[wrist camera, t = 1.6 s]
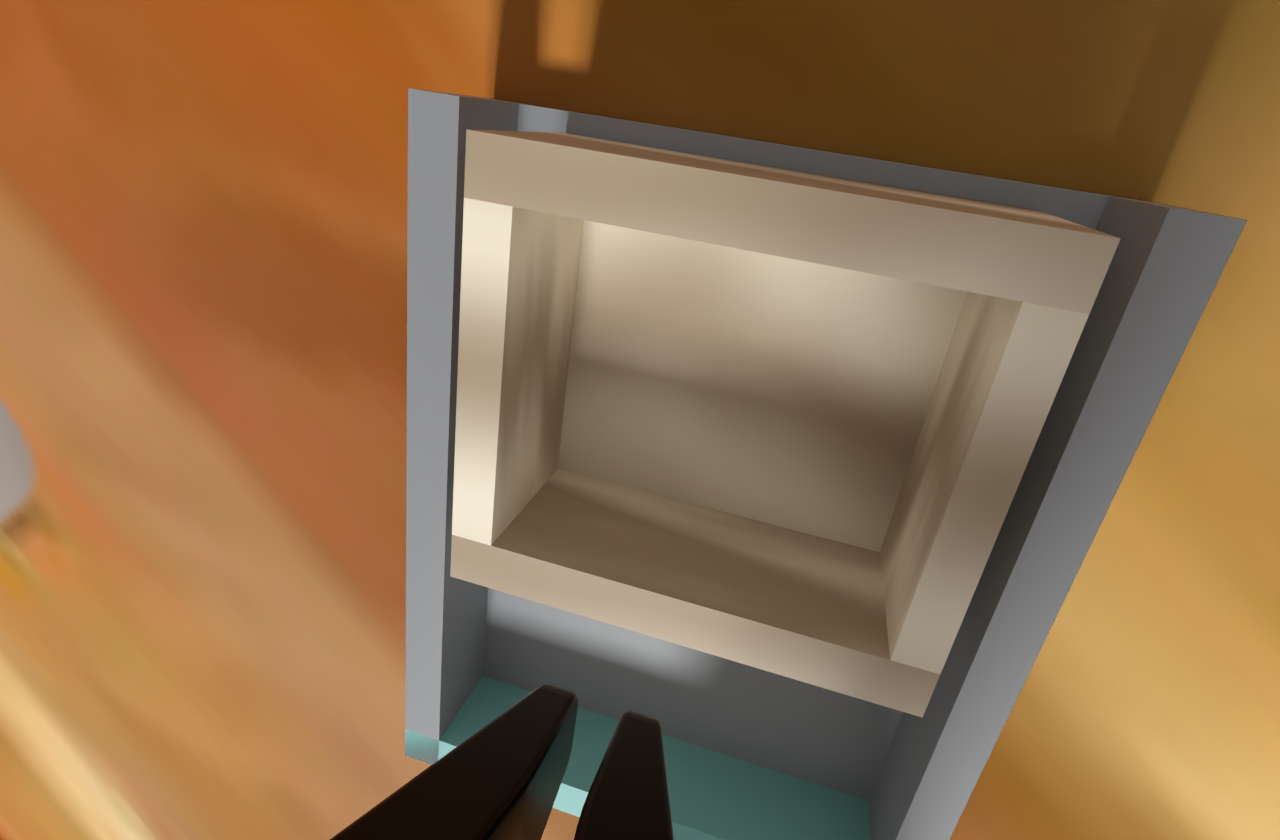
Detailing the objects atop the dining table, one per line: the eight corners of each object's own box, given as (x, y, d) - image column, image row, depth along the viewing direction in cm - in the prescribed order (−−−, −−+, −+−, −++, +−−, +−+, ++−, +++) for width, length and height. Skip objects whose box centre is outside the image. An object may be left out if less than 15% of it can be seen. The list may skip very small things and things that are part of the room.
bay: (894, 812, 23) (904, 933, 20) (464, 672, 26) (405, 755, 23) (1152, 202, 15) (1246, 220, 12) (492, 98, 18) (408, 87, 15)
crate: (903, 582, 19) (922, 717, 15) (532, 484, 21) (450, 576, 17) (1037, 209, 15) (1120, 238, 11) (564, 132, 17) (466, 129, 13)
